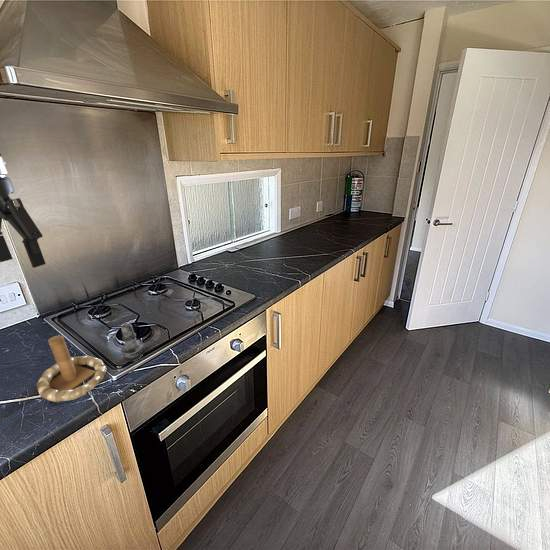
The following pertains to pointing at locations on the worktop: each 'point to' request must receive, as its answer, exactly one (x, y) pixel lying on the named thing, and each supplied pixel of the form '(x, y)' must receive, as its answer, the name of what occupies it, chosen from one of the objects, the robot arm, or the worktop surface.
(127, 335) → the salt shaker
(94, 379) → the ring
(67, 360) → the post stand
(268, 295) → the worktop surface
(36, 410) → the worktop surface
